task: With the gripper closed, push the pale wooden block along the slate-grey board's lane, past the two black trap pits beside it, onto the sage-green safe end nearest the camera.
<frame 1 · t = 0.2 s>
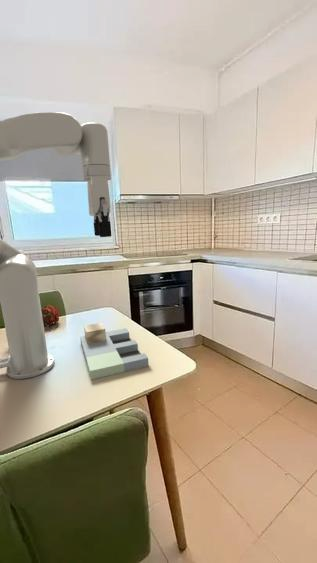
hand: (102, 236, 81), 36 cm above the table, tool pointing down, fingers open, 9 cm apart
dragon fruit: (49, 324, 115), on the table
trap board: (111, 353, 86), on the table
block: (95, 338, 92), point 2 cm above the table, touching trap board
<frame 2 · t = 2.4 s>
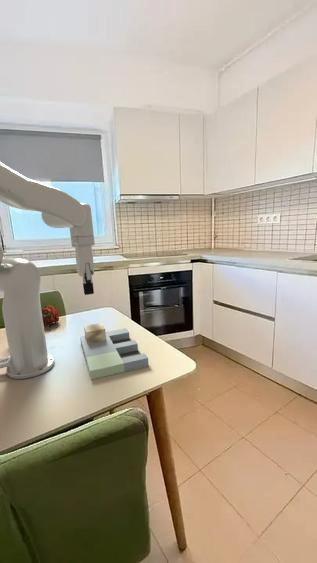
hand: (89, 293, 97), 16 cm above the table, tool pointing down, fingers closed
nothing on the table moved.
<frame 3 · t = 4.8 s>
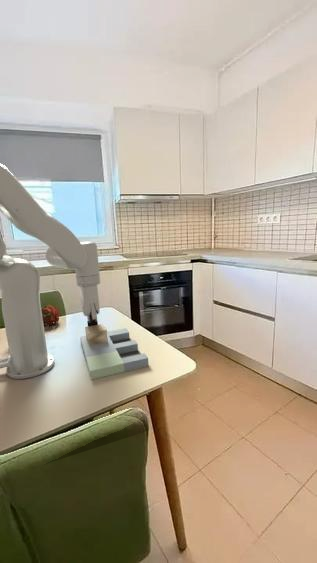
hand: (93, 331, 95), 3 cm above the table, tool pointing down, fingers closed
block: (96, 339, 91), point 2 cm above the table, touching gripper, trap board
everything else where it was.
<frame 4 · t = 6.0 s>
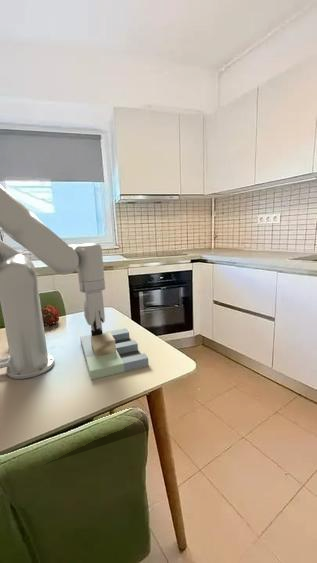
hand: (97, 341, 87), 3 cm above the table, tool pointing down, fingers closed
block: (103, 350, 83), point 3 cm above the table, touching gripper
everything else where it was.
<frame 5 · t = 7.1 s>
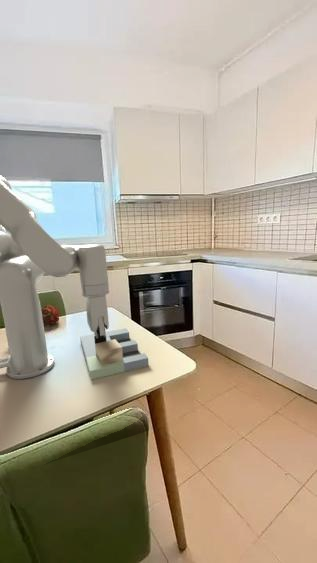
hand: (101, 348, 82), 4 cm above the table, tool pointing down, fingers closed
block: (109, 358, 78), point 3 cm above the table, touching gripper
everything else where it was.
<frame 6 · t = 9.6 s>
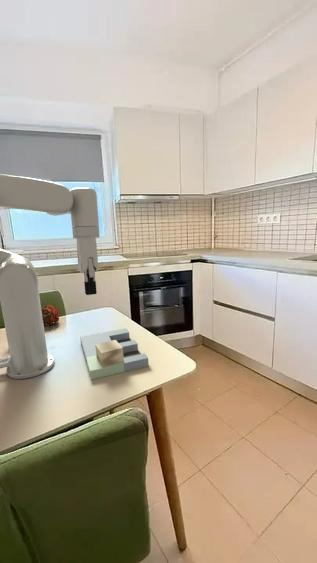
hand: (90, 293, 84), 19 cm above the table, tool pointing down, fingers closed
block: (109, 359, 77), point 2 cm above the table, touching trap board
everything else where it was.
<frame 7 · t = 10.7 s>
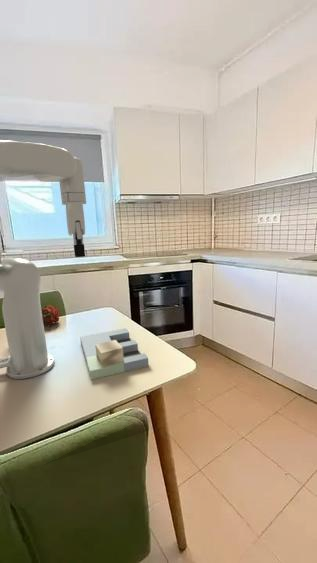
hand: (80, 256, 92), 29 cm above the table, tool pointing down, fingers closed
nothing on the table moved.
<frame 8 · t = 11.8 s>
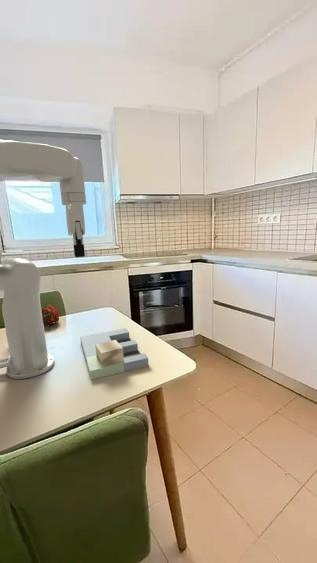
hand: (79, 256, 92), 29 cm above the table, tool pointing down, fingers closed
nothing on the table moved.
at the end: block 1.6 cm from the target spot on the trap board, point 2.5 cm above the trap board's base; block tilted 0° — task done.
